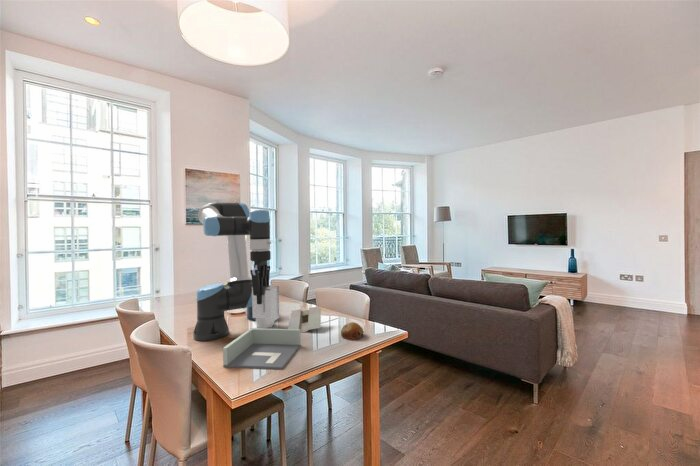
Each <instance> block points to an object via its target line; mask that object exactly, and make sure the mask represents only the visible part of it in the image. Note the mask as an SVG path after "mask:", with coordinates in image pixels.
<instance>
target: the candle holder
mask: <svg viewBox="0 0 700 466" xmlns="http://www.w3.org/2000/svg"><path fill="white" fill-rule="evenodd" d="M274 322H275V321H274ZM274 322H273V323H271V324H266V318H256V320H255V325H256V328H266V329H271V328H272V327H273V326H274Z"/></svg>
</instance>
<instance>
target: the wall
mask: <svg viewBox="0 0 700 466" xmlns="http://www.w3.org/2000/svg"><path fill="white" fill-rule="evenodd" d="M321 308H322V307H321V305H320V306H318V305H317V306H315V307H309V308H308V309H305V310H302V309H301V308H300V309H295V310H291V312H290V319H289V322H288V327H287V329H300V333H305V332H309V331H310V330H315V329H316V330H317V329H321V328H322V327H321V326H322V324H321V323H322V321H321V319H322V316H321V312H322V311H321Z"/></svg>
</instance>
